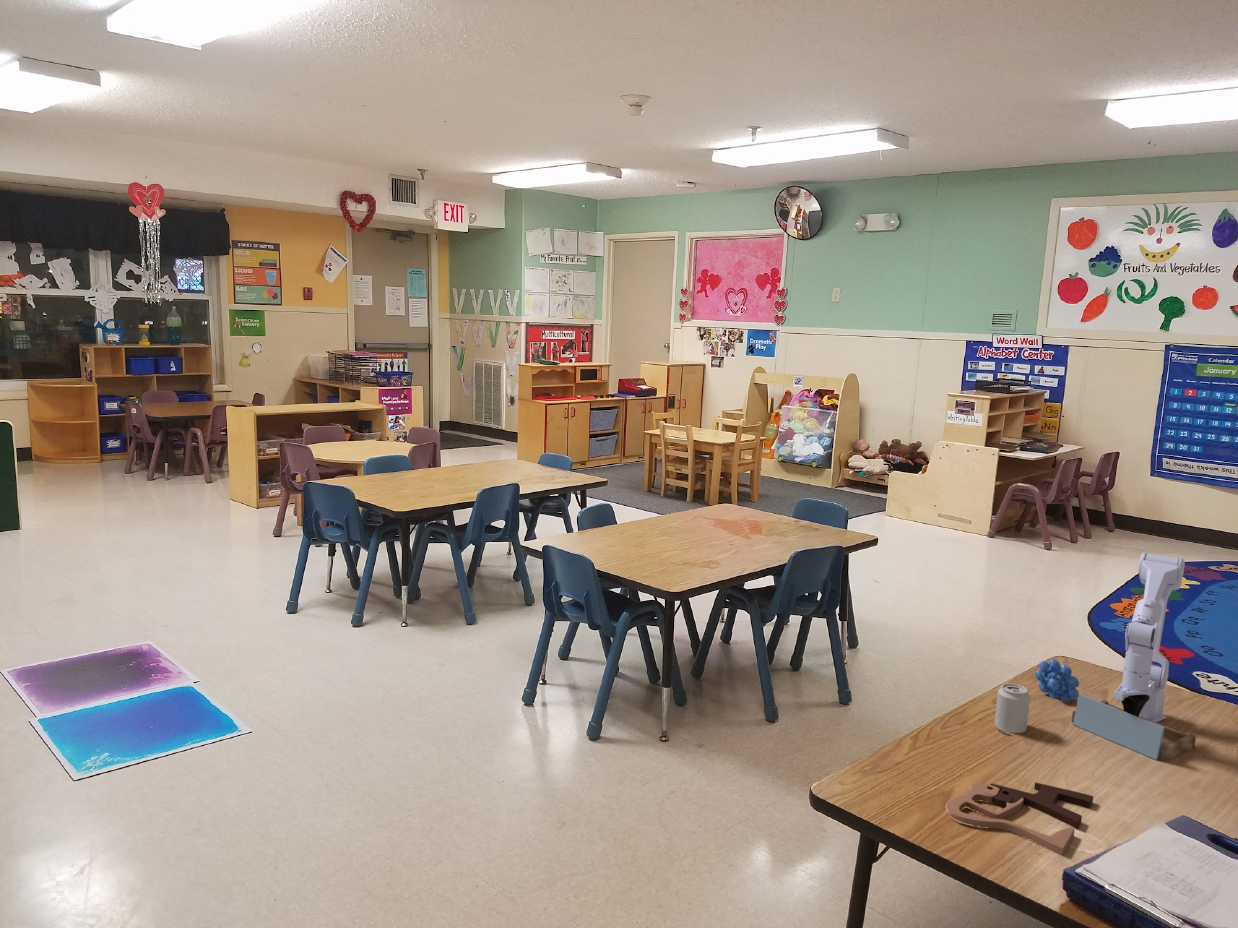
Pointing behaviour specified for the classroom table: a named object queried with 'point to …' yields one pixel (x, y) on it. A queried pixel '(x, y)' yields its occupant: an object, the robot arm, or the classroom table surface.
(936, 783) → the classroom table surface
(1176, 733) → the tray
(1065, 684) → the grapes
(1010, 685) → the can
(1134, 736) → the panel
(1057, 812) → the wood carving
